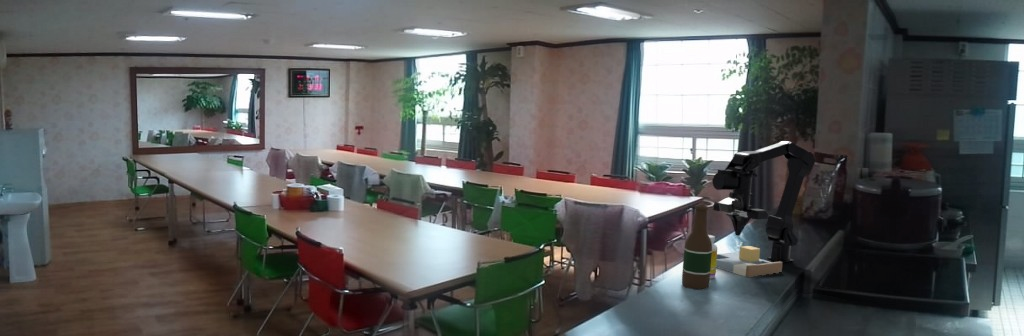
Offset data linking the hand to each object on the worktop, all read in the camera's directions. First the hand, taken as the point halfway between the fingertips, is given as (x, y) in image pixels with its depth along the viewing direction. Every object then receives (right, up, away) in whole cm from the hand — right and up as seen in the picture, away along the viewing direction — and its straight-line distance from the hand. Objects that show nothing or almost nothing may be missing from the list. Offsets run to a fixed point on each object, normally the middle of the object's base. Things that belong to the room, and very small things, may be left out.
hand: (737, 235), depth 224 cm
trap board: (-1, -10, -5) cm, 11 cm away
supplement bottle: (-17, -11, -19) cm, 28 cm away
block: (+3, -8, -4) cm, 9 cm away
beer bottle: (-23, -12, -30) cm, 40 cm away
